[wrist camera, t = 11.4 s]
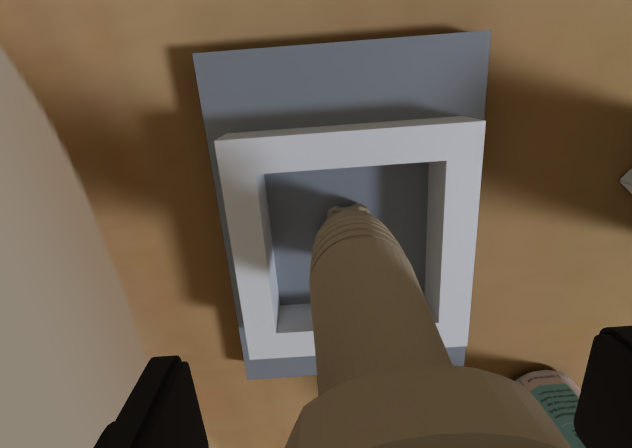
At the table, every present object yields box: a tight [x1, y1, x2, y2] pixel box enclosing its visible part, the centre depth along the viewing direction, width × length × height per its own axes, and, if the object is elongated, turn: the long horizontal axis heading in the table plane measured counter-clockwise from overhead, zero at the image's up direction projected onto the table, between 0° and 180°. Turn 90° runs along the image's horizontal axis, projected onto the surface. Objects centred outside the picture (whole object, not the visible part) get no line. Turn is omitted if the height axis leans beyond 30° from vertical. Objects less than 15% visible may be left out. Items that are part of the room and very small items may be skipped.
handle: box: [285, 203, 572, 448], centre depth 12 cm, size 5×6×15 cm
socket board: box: [192, 30, 491, 380], centre depth 19 cm, size 18×13×4 cm
